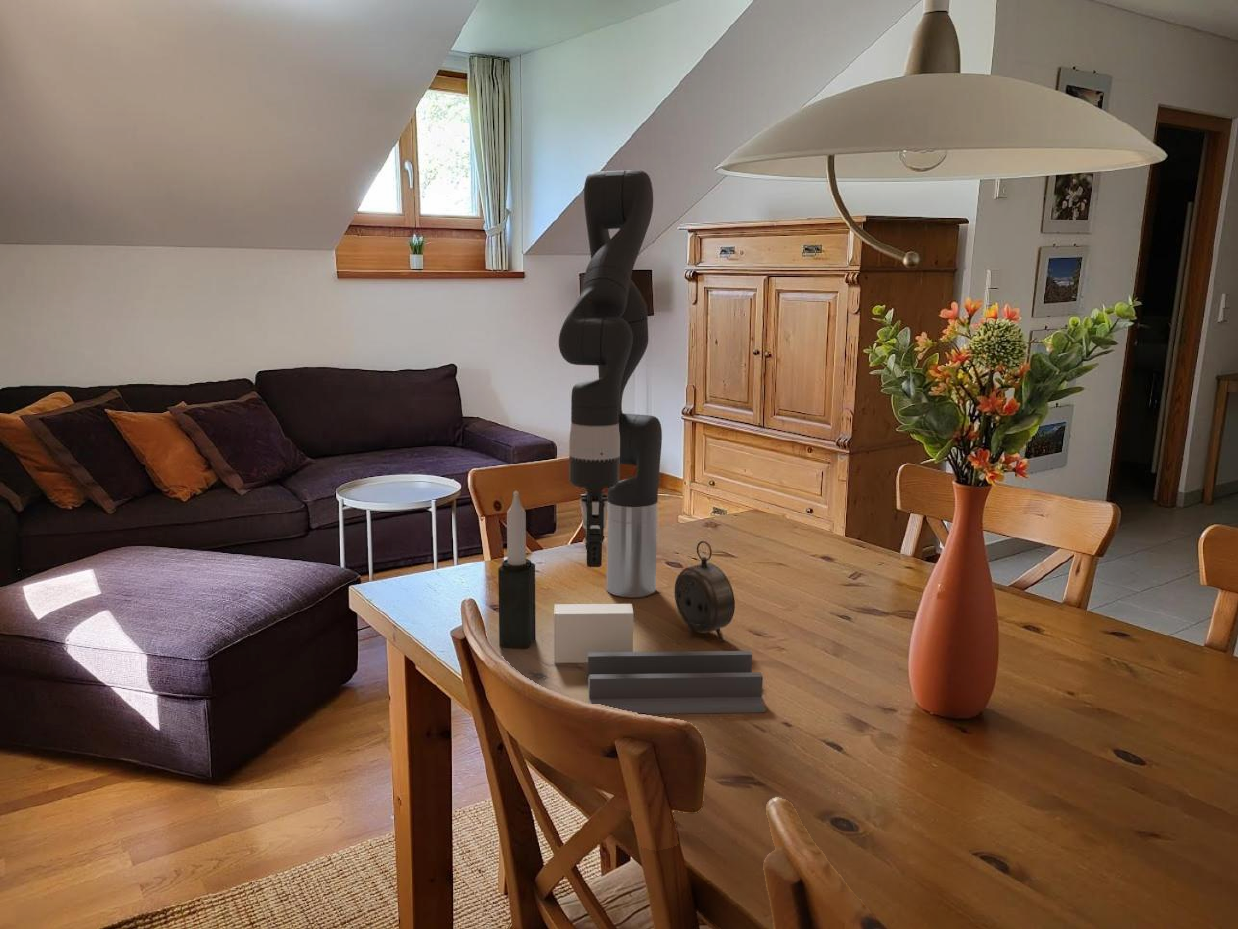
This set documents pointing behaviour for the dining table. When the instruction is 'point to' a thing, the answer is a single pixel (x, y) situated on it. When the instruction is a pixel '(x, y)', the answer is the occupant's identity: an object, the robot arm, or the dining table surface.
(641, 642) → the dining table surface
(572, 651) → the white rectangular block
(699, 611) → the alarm clock
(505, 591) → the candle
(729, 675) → the door track
